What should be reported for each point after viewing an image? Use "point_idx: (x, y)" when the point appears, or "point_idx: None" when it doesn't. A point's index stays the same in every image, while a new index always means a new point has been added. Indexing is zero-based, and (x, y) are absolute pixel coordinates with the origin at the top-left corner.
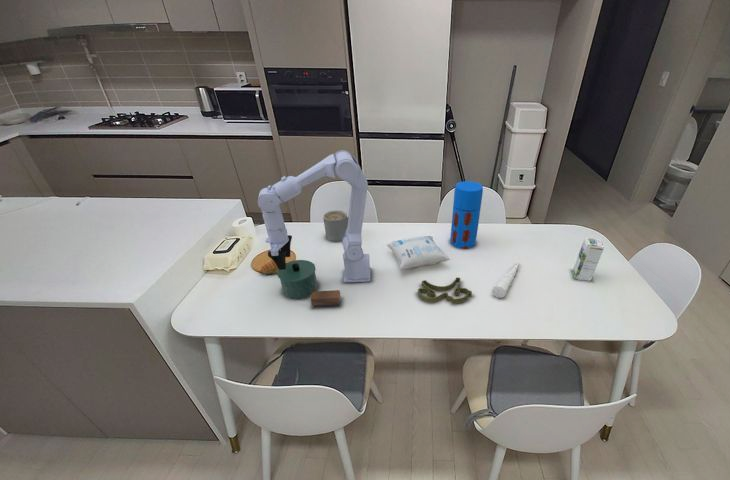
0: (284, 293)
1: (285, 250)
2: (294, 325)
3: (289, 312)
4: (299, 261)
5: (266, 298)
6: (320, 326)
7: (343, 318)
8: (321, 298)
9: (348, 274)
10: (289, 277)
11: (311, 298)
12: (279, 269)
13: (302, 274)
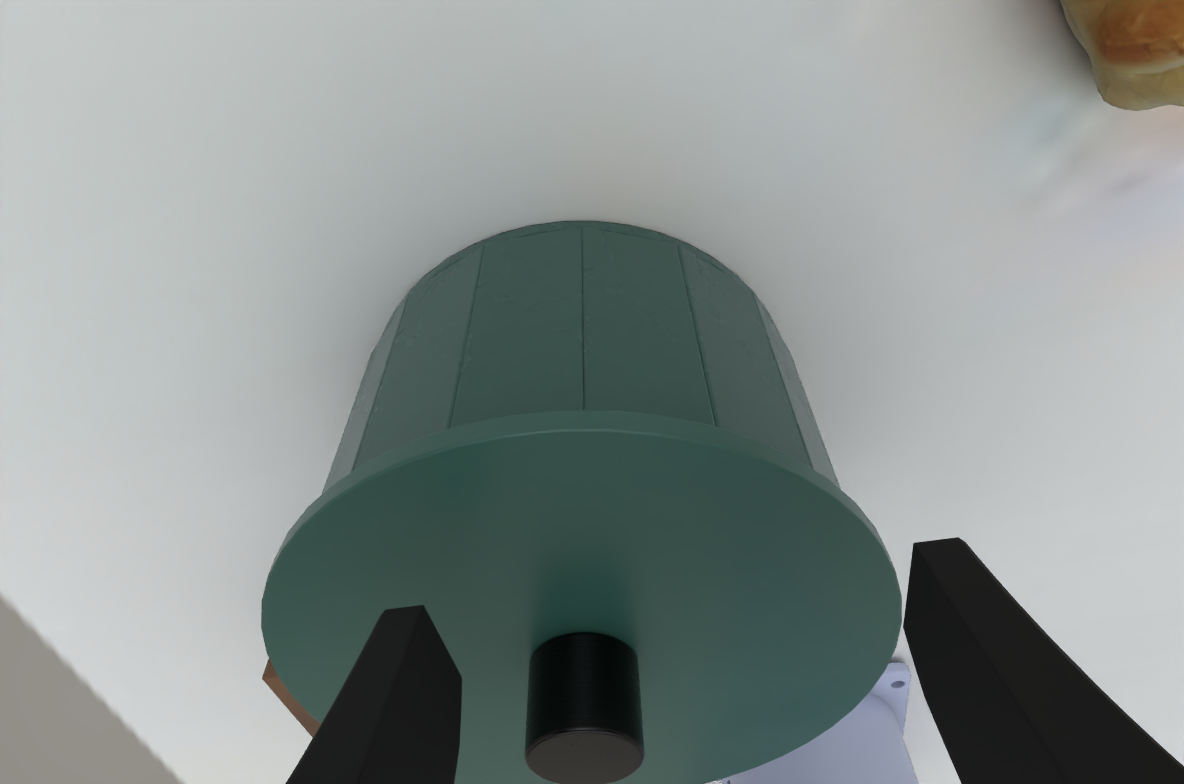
0: (404, 303)
1: (994, 768)
2: (8, 522)
3: (144, 431)
4: (847, 635)
5: (259, 46)
6: (119, 663)
7: (273, 740)
8: (313, 732)
9: (746, 771)
10: (355, 645)
11: (276, 682)
12: (380, 620)
13: (480, 735)
